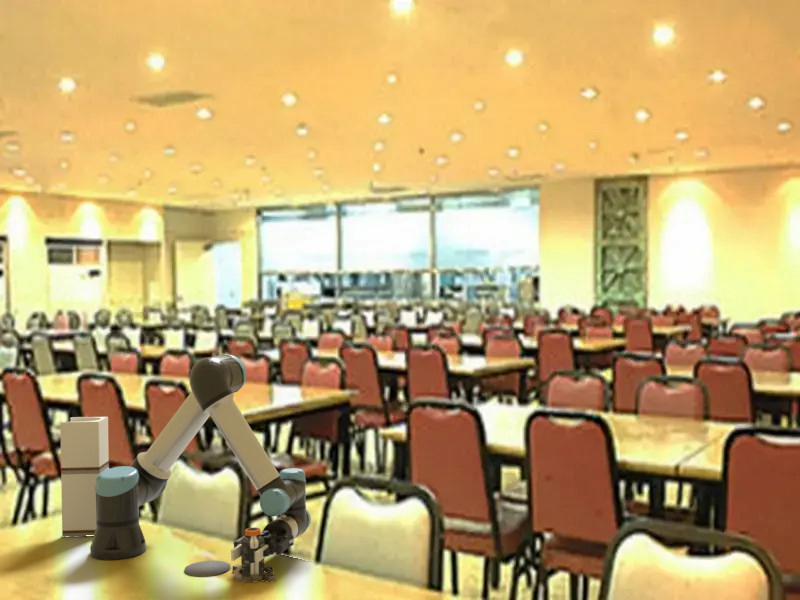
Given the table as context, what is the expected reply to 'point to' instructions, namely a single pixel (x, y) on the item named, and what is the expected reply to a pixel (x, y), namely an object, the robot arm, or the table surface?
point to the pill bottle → (251, 552)
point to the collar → (250, 578)
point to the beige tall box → (82, 471)
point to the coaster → (207, 568)
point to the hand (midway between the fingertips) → (244, 556)
